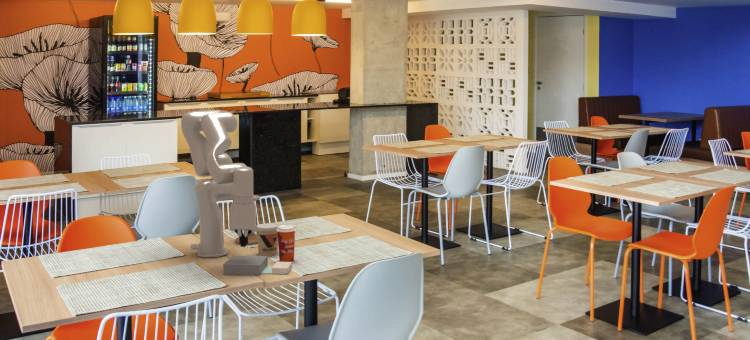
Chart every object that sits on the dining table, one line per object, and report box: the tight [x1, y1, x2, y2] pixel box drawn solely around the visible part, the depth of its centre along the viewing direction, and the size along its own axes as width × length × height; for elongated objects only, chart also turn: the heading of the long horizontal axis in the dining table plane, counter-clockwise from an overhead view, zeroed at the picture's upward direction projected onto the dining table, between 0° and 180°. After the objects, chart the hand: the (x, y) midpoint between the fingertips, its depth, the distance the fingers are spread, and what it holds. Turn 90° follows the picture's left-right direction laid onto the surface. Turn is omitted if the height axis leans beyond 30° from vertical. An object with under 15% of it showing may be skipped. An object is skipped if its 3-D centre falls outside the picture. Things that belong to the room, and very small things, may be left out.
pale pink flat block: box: [272, 261, 293, 275], centre depth 294 cm, size 6×9×2 cm, turn 175°
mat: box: [261, 265, 285, 275], centre depth 295 cm, size 9×10×1 cm
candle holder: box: [234, 194, 261, 246], centre depth 339 cm, size 12×12×20 cm
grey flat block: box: [222, 254, 269, 276], centre depth 295 cm, size 14×13×4 cm
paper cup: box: [276, 224, 297, 263], centre depth 308 cm, size 8×8×14 cm
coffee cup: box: [256, 223, 279, 257], centre depth 319 cm, size 9×9×12 cm
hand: (243, 245), depth 295 cm, fingers closed
